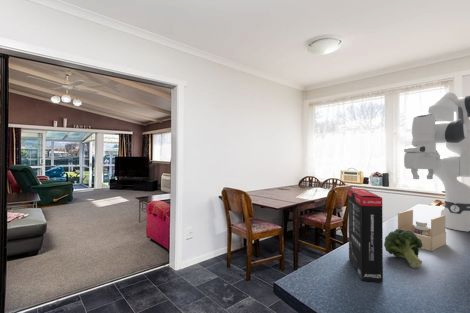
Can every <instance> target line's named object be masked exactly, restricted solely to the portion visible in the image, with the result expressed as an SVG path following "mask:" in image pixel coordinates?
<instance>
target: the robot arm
mask: <svg viewBox="0 0 470 313" xmlns="http://www.w3.org/2000/svg"><path fill="white" fill-rule="evenodd" d="M411 124H412V125H411V135H412V141H411V144H410V145H409V146H406V147H404V149H403V152H404V155H403V157H404V158H403V165H404V168H405V169H406V170H410V172H411V174H412V179H413V180H419V179H420V175H419V174H418V172H419V170H427V172H428V174H427V175H426V180H433V179H434V176H436V177H437V178H438V179H439V180H440V181H441V182H442V184H443V186H444V194H445V200H444V203H443V205H444V208H443V209H441V210H440V216H443V215H446V223H445V229H450V230H455V231H461V232H469V231H470V185H468V184H466V183H464V182H461V181H459V180H458V177H462V178H470V95H466V96H464V97H463V96H462V97H461V96H460V97H458V96H457V95H456V93H453V92H451V91H446V92H445V91H444V92H442V93H439V94H438V95H437V96H436V97H435V98H434V99H433V100H432V102H431V103H430V105H429V107H428V113H425V114H416V115H415V116H413V119H412V123H411ZM441 143H443V144H445V146H446V148H447V149H448V150H449V151H451V152H452V153H456V154H458V155H459V156H441V154H440V153H439V152H438V150H437V144H441Z"/></svg>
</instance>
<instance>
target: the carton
mask: <svg viewBox="0 0 470 313" xmlns="http://www.w3.org/2000/svg"><path fill="white" fill-rule="evenodd" d="M445 223H446V215H443V216H441V215H440V216H437V217H434V218H431V219H430V226H431V227H430V228H429V227H428V228H429V237H428V236H424V235H419V234H415V233H414V226H415V225H416V224H414V210H413V209H409V210H405V211H401V212H398V213H397V229H402V230H405V231H412V232H413V233H414V234H415V235H416V236H417V238H419V239H420V240H421V242H422V247H421V248H420V249H422V250H426V251H429V252H430V251H431V252H433V251H435V250H437V249H439V248H441V247H443V246H445V245H446V244H447V232H446V227H445Z"/></svg>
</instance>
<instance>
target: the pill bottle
mask: <svg viewBox="0 0 470 313" xmlns="http://www.w3.org/2000/svg"><path fill="white" fill-rule="evenodd" d="M414 225H415V226H414V233H415V234H419V235H424V236H428V237H429V227H428V222H427V221H426V220H425V221H424V220H415V224H414Z"/></svg>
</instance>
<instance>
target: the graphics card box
mask: <svg viewBox="0 0 470 313" xmlns="http://www.w3.org/2000/svg"><path fill="white" fill-rule="evenodd" d="M347 196H348V200H347V201H348V259H349V261H350V262H351V264H352V267H353V268H354V269H355V272H356V274H357V275H358V278H360V280H361V281H363V282H365V281H366V282H374V283H384V271H383V270H384V266H383V262H384V261H383V260H384V257H383V256H384V255H383V252H384V250H383V249H384V248H383V246H384V242H383V241H384V240H383V236H384V235H383V231H384V228H383V225H384V224H383V223H384V222H383V197H382V196H379V195H377V194H376V193H373V192H371V191H369V190H367V189H365V188H348V192H347Z"/></svg>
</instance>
